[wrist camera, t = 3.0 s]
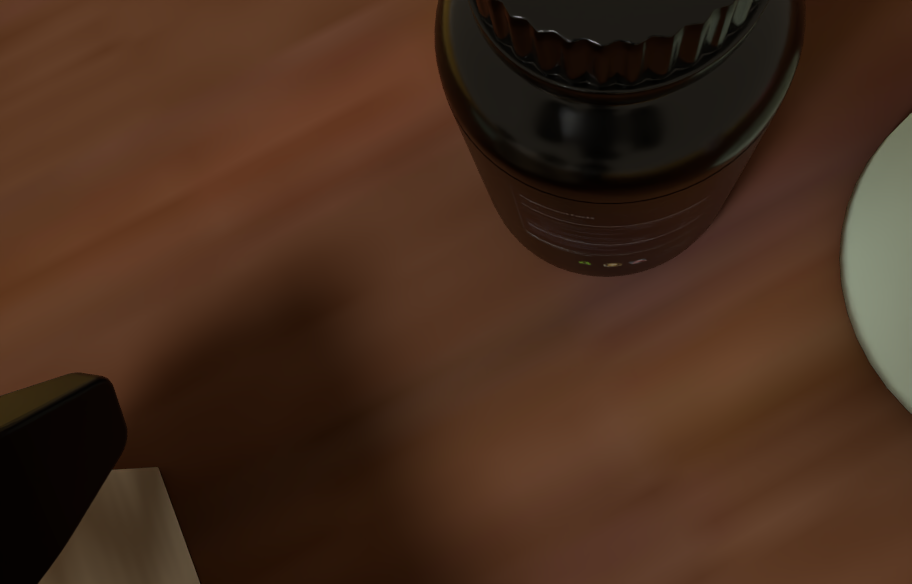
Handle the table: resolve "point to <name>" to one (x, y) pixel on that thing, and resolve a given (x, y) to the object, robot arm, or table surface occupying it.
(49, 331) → the table surface
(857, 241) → the green pad
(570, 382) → the table surface
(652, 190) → the supplement bottle
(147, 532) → the block
